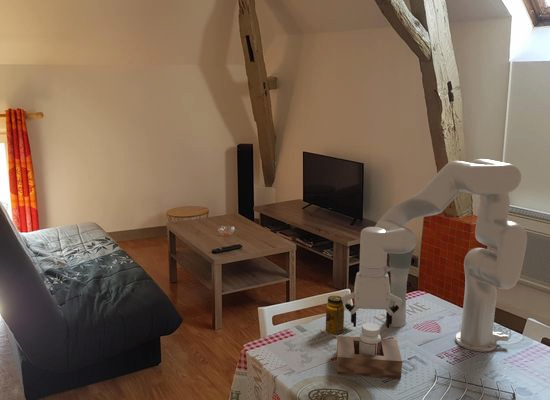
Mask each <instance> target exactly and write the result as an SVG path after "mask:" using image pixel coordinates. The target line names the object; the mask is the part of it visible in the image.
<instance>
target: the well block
mask: <svg viewBox="0 0 550 400" xmlns="http://www.w3.org/2000/svg"><path fill="white" fill-rule="evenodd" d="M336 340H337V341H336V375H340V376H355V377H356V376H357V377H369V378H385V379H397V380H399V379H400V380H401V379H402V369H403V360H402V355H401V352H400V347H399V344H398V341H397V339H396V338H395V339H394V338H381V345H380V356H377V355H361V354H359V342H360V336H347V335H345V336H344V335H341V336H337V339H336Z"/></svg>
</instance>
